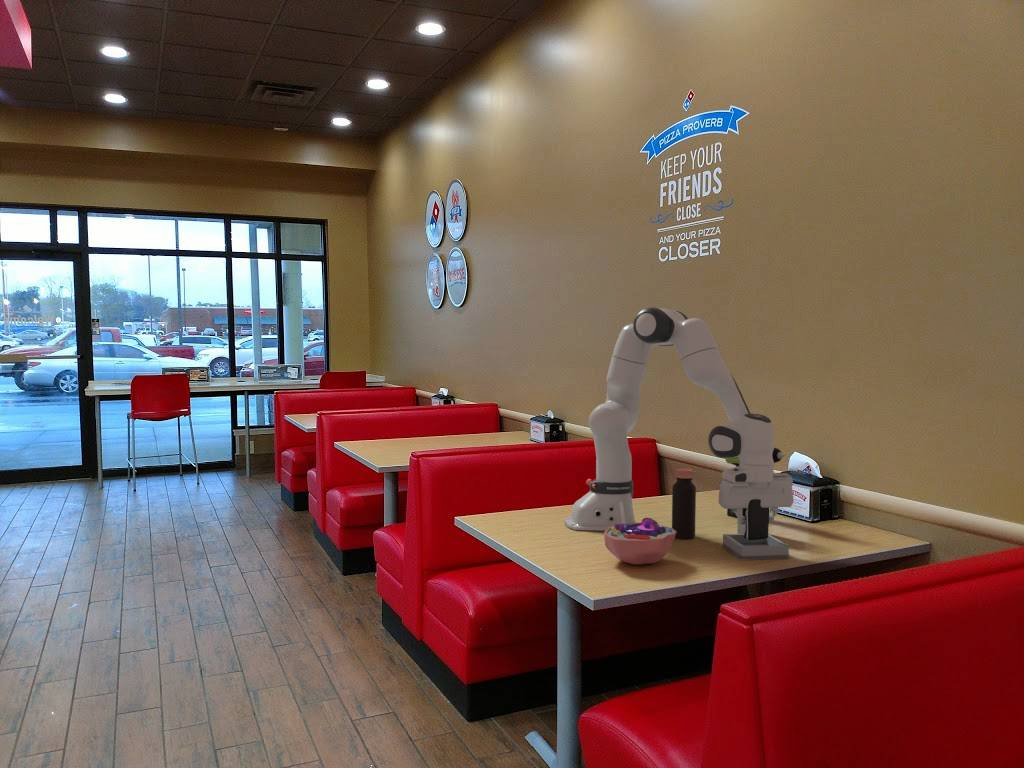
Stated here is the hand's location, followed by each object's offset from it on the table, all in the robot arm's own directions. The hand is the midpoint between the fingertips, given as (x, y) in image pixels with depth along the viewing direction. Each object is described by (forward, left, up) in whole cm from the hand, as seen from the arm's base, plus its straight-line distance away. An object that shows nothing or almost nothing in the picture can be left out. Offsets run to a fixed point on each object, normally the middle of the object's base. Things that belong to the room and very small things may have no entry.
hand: (755, 523), depth 206 cm
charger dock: (0, 0, -8) cm, 8 cm away
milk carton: (+7, +18, -8) cm, 21 cm away
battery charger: (0, 0, -4) cm, 4 cm away
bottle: (-14, +18, -8) cm, 24 cm away
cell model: (-34, -5, -8) cm, 36 cm away
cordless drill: (+16, +35, -8) cm, 39 cm away
